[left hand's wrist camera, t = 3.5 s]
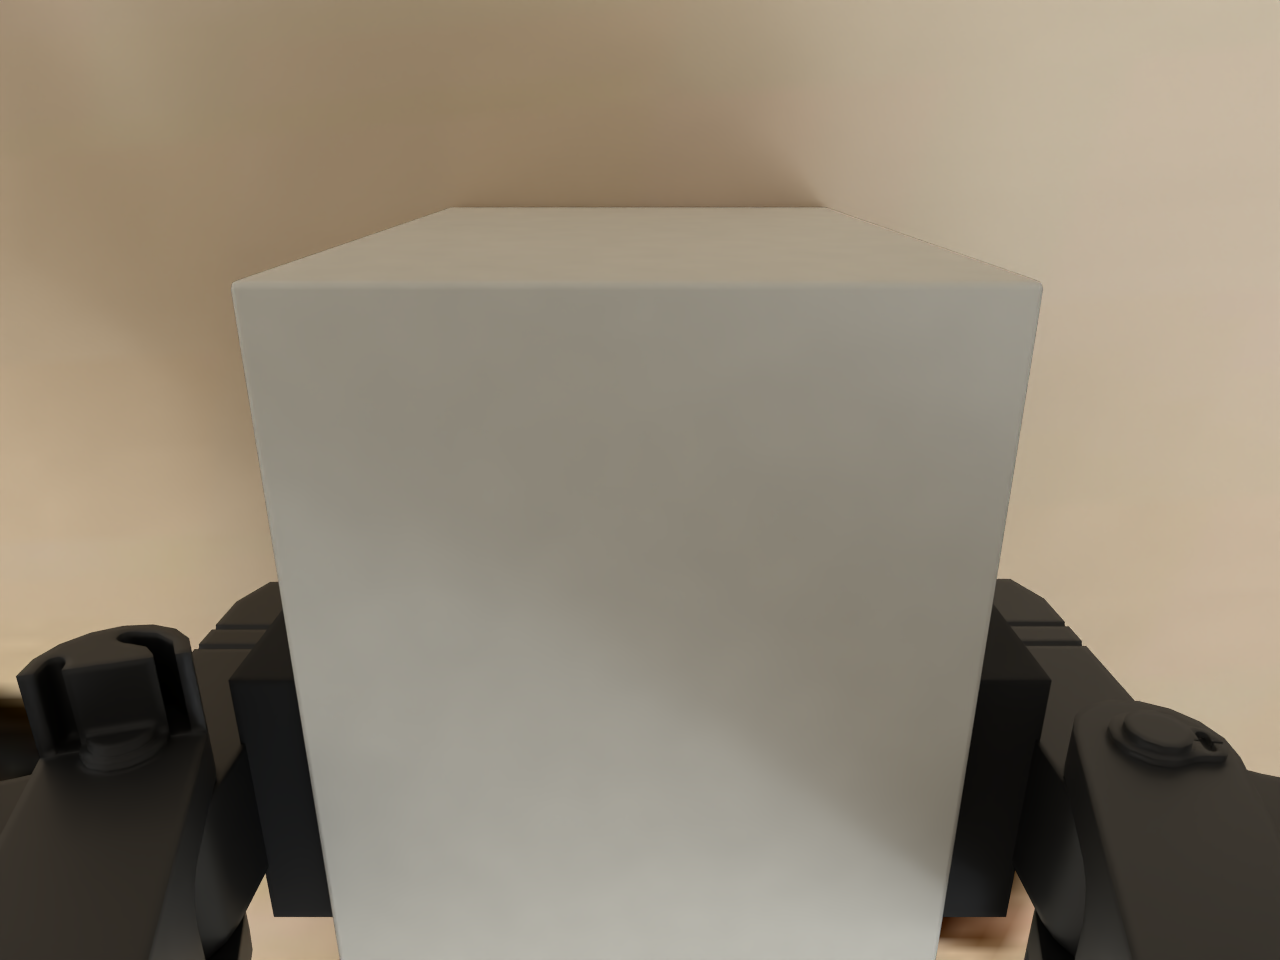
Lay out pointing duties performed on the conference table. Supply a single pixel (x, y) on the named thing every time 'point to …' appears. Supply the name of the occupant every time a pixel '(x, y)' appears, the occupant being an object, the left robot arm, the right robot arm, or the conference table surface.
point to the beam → (637, 573)
